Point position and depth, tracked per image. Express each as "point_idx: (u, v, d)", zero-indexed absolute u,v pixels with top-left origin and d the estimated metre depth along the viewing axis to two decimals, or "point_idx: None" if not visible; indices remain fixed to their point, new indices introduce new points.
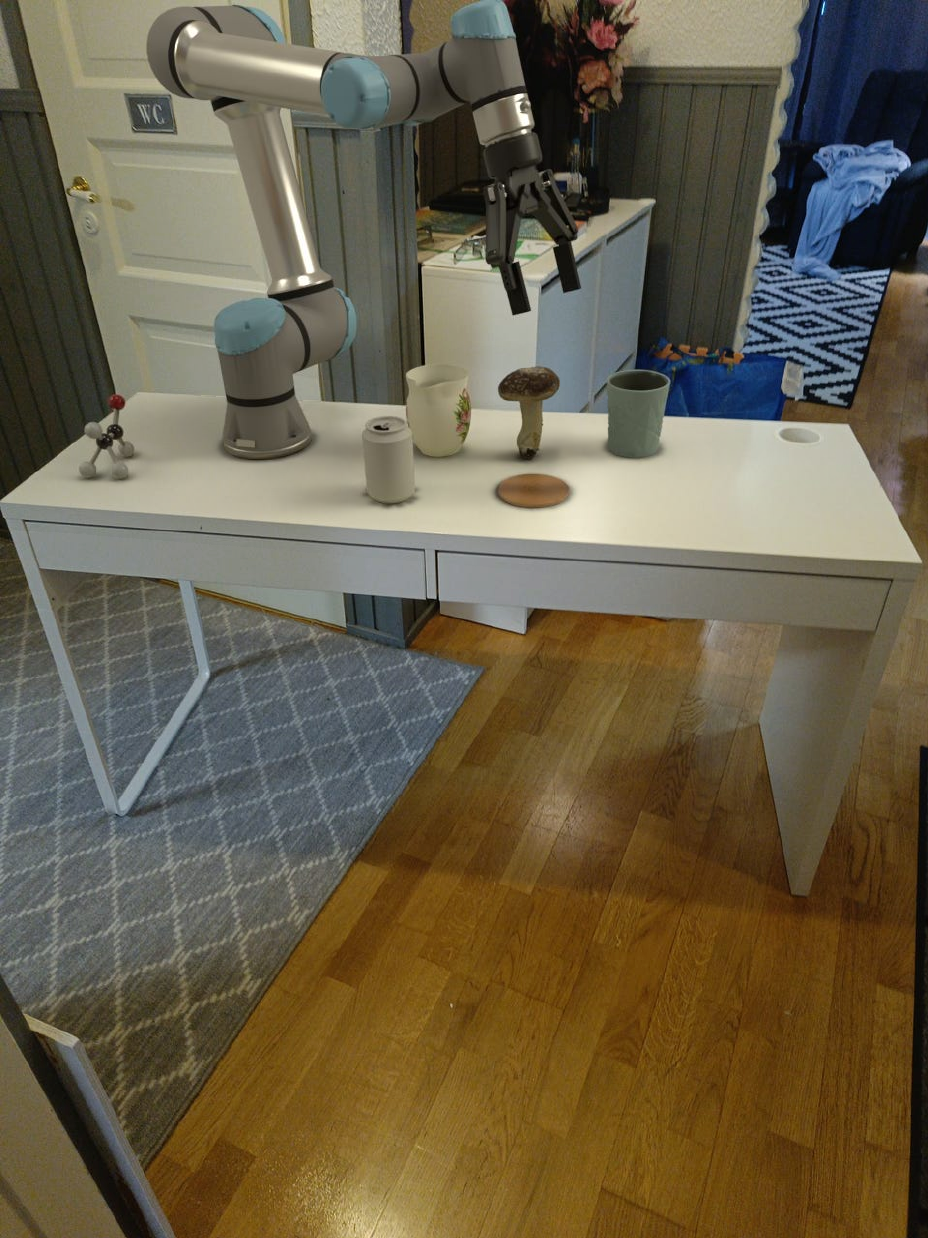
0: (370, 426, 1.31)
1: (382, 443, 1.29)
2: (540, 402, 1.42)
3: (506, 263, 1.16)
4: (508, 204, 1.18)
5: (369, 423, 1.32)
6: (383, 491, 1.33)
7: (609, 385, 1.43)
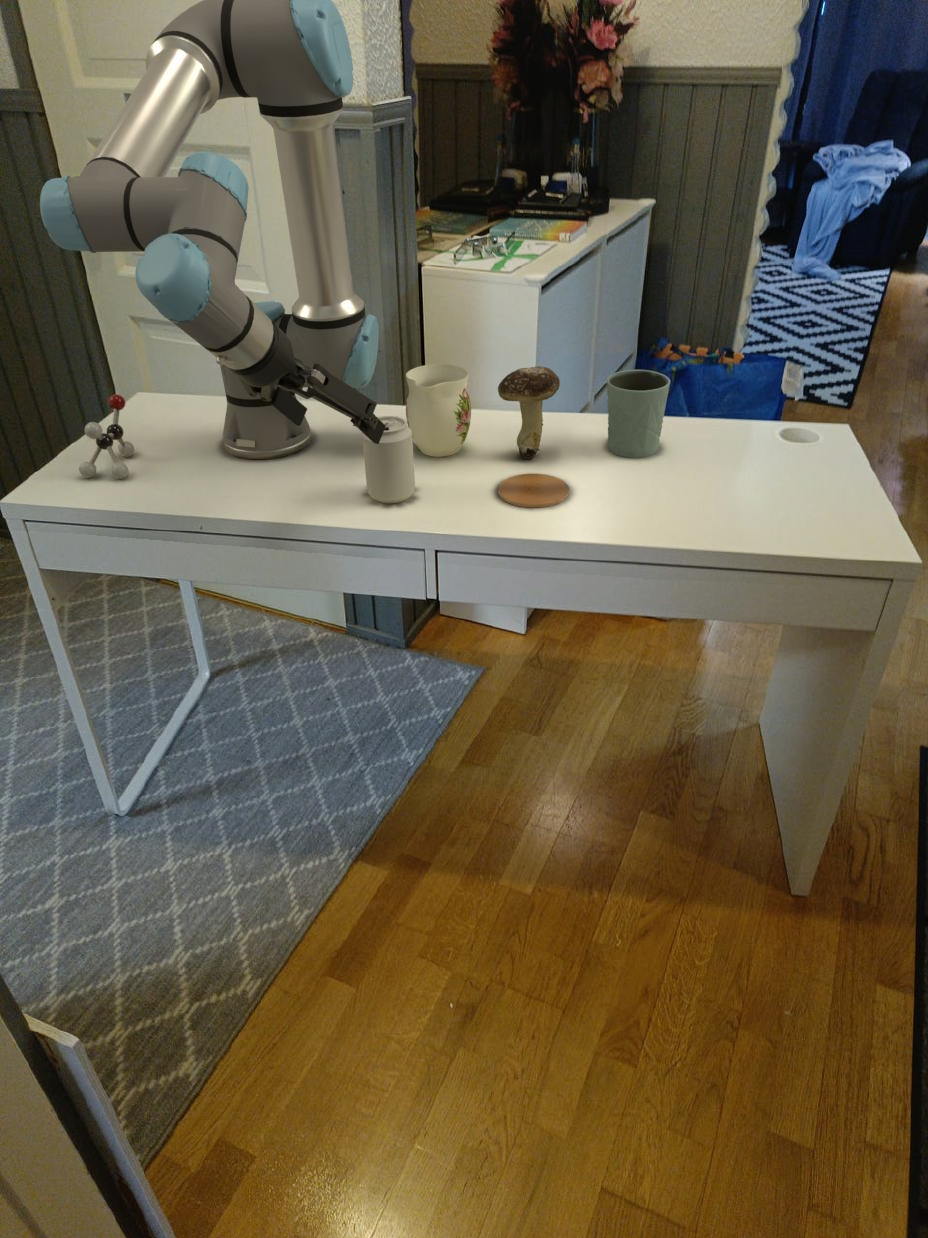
0: None
1: (382, 443, 1.29)
2: (540, 402, 1.42)
3: None
4: None
5: None
6: (383, 491, 1.33)
7: (609, 385, 1.43)
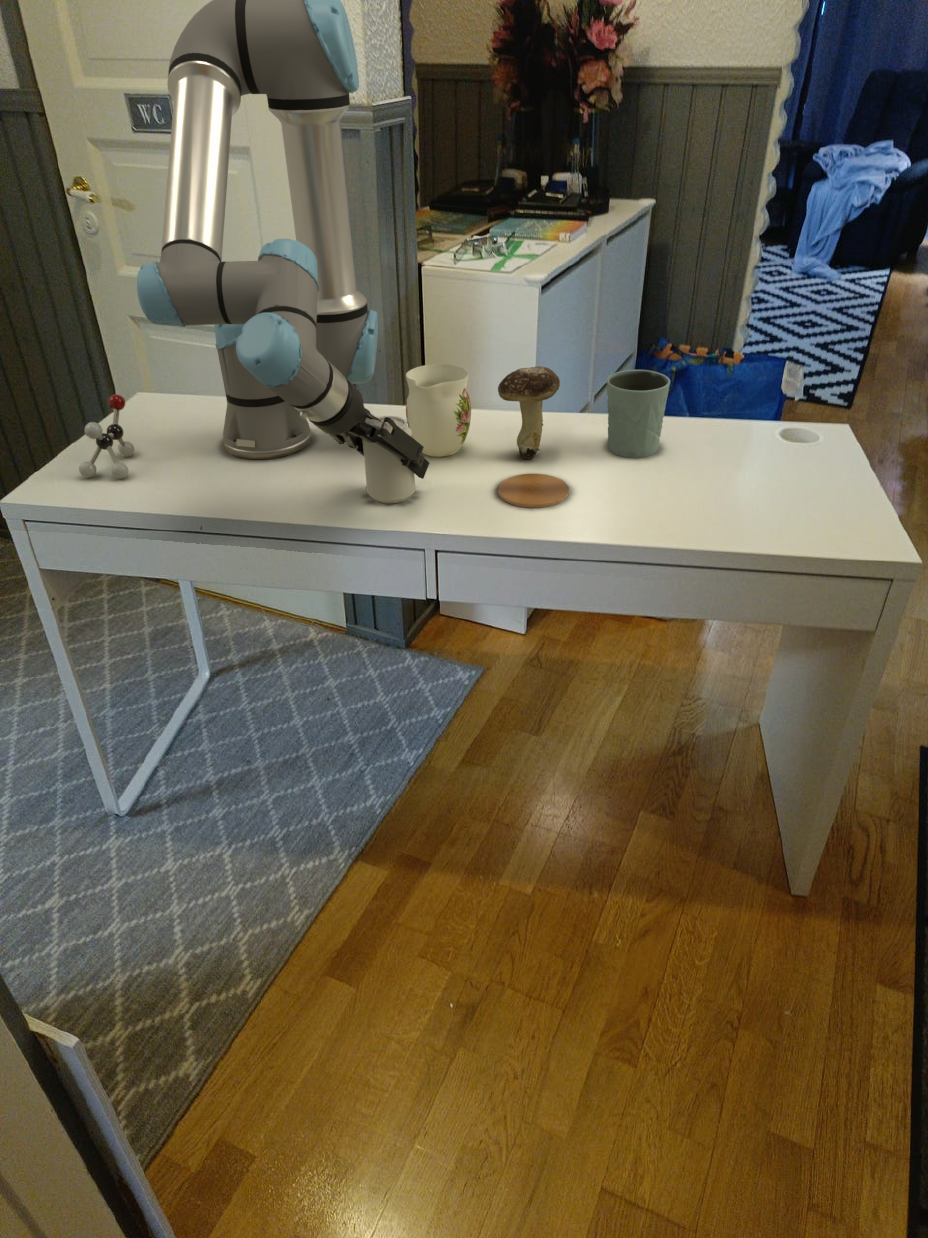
0: None
1: None
2: (540, 402, 1.42)
3: None
4: None
5: None
6: (383, 491, 1.33)
7: (609, 385, 1.43)
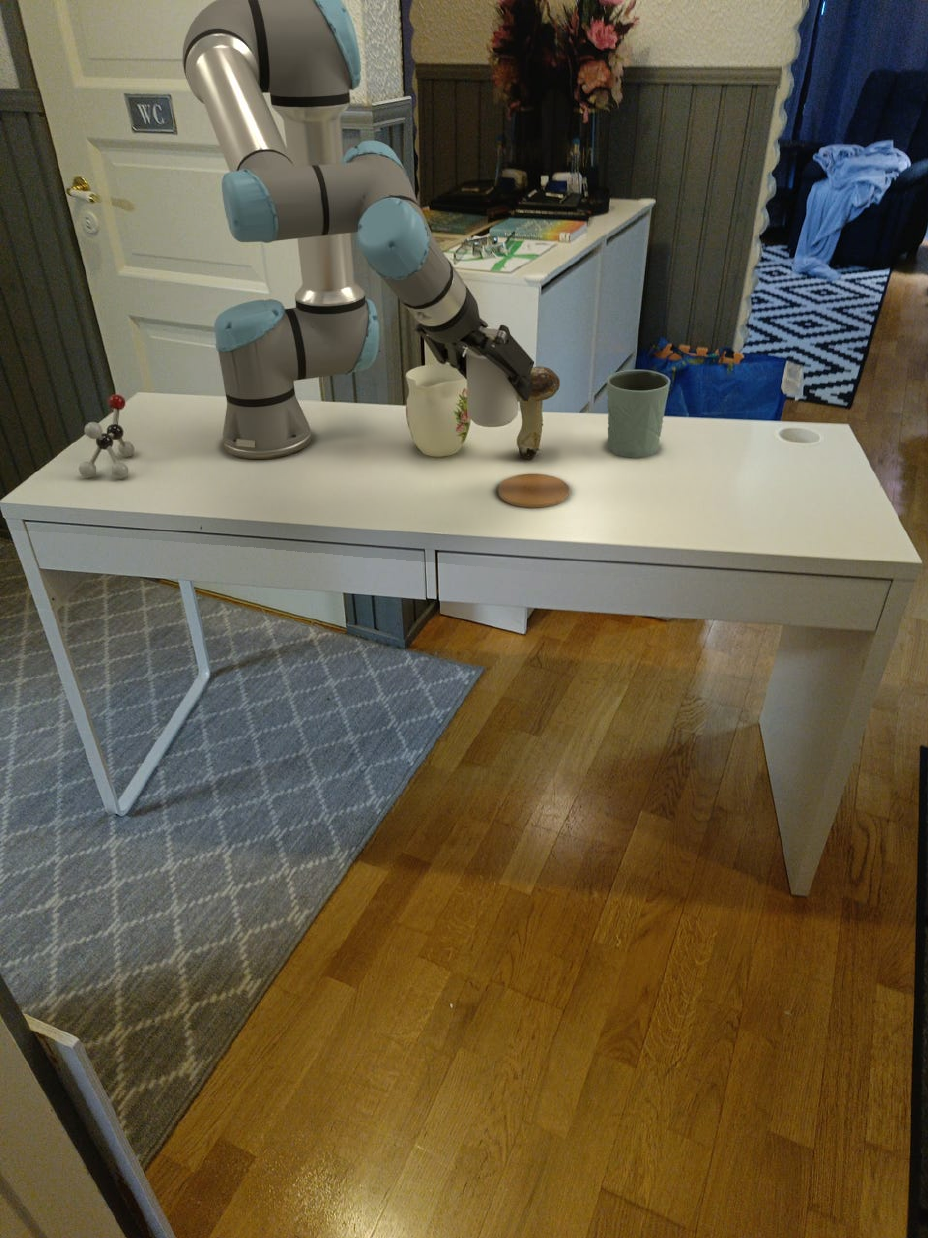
0: None
1: (489, 360, 1.22)
2: (540, 402, 1.42)
3: None
4: None
5: None
6: (486, 413, 1.26)
7: (609, 385, 1.43)
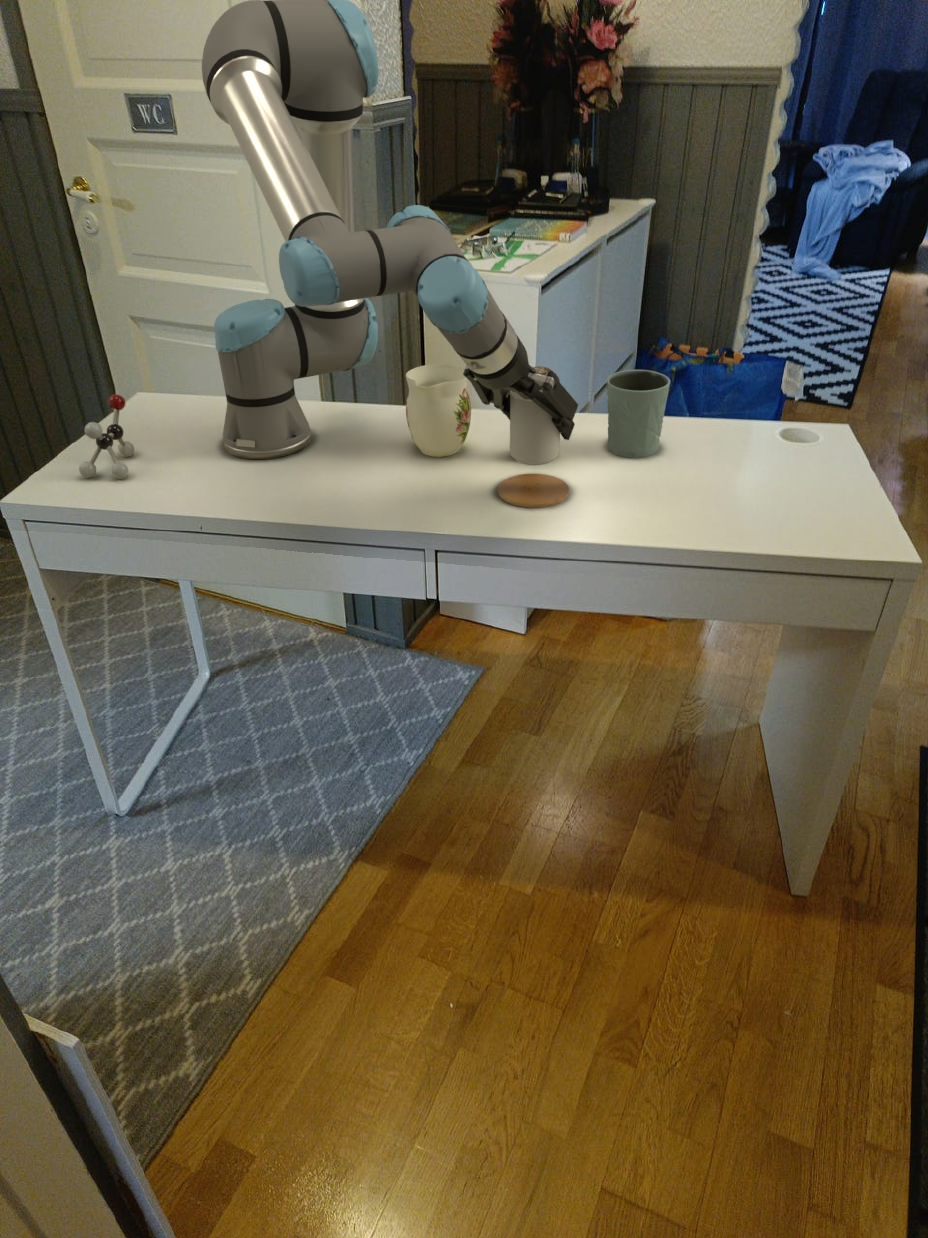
0: None
1: None
2: None
3: None
4: None
5: None
6: (530, 452, 1.30)
7: (609, 385, 1.43)
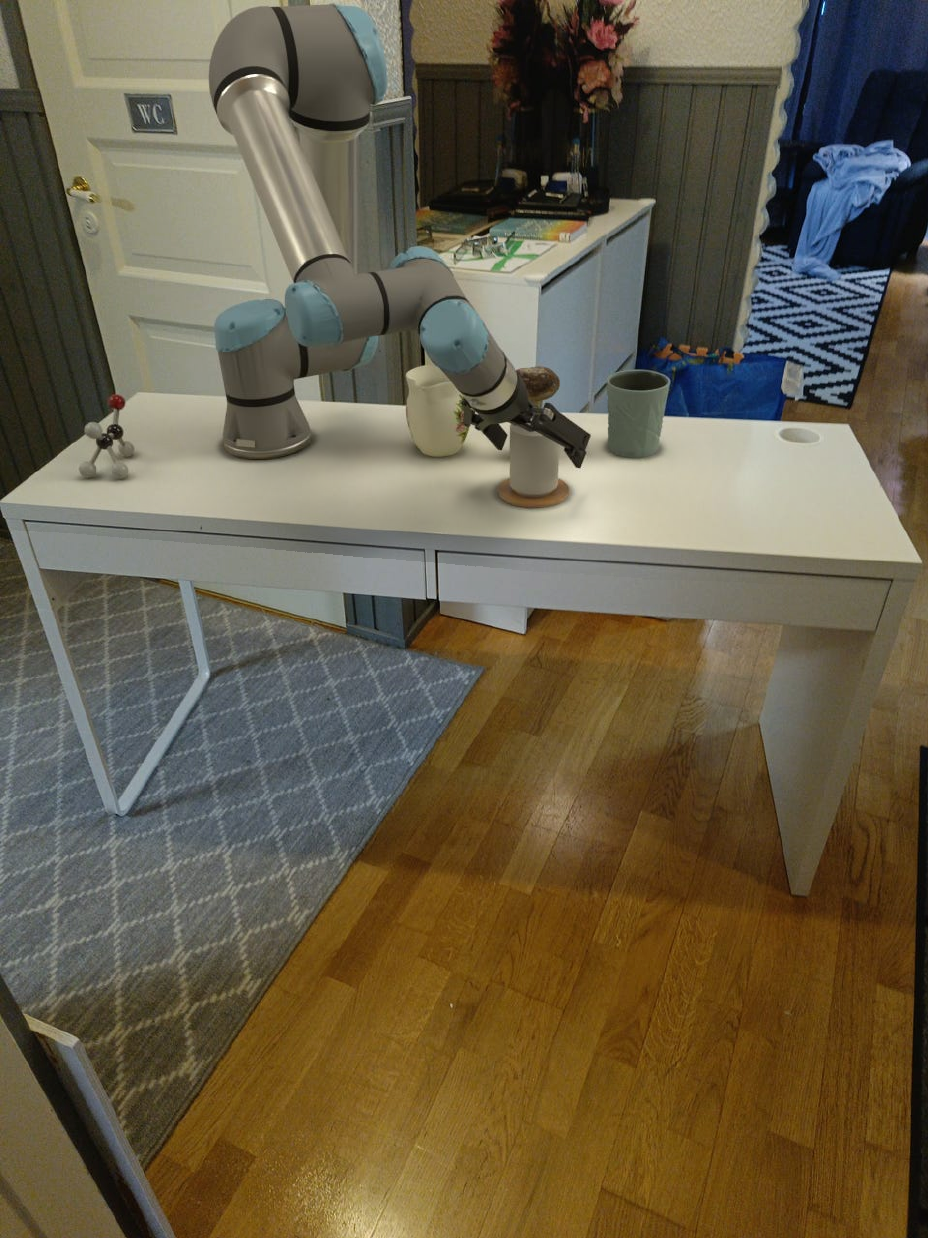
0: None
1: (533, 437, 1.28)
2: (540, 402, 1.42)
3: None
4: None
5: None
6: (529, 485, 1.33)
7: (609, 385, 1.43)
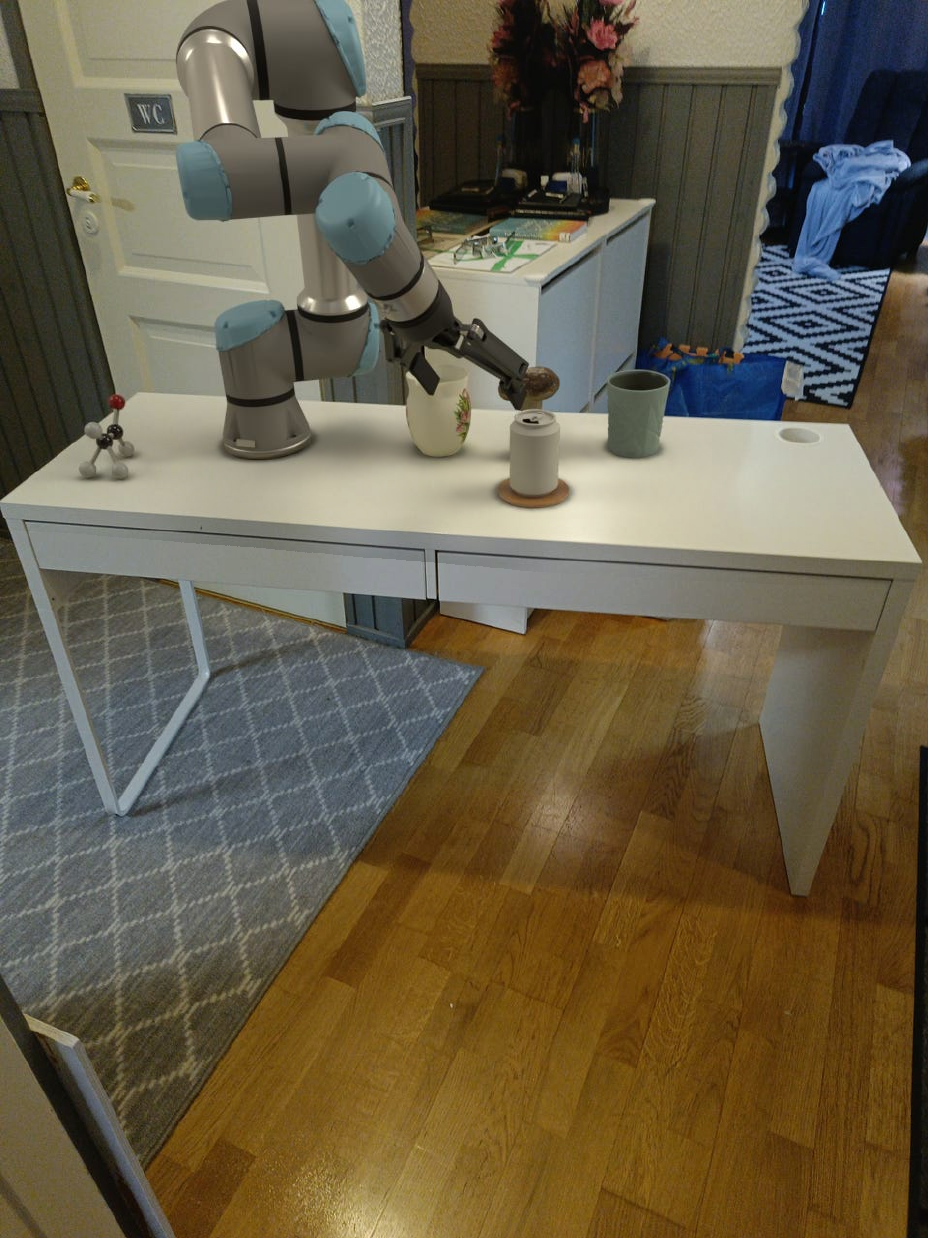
0: (519, 419, 1.31)
1: (533, 437, 1.28)
2: (540, 402, 1.42)
3: None
4: None
5: (517, 416, 1.31)
6: (529, 485, 1.33)
7: (609, 385, 1.43)
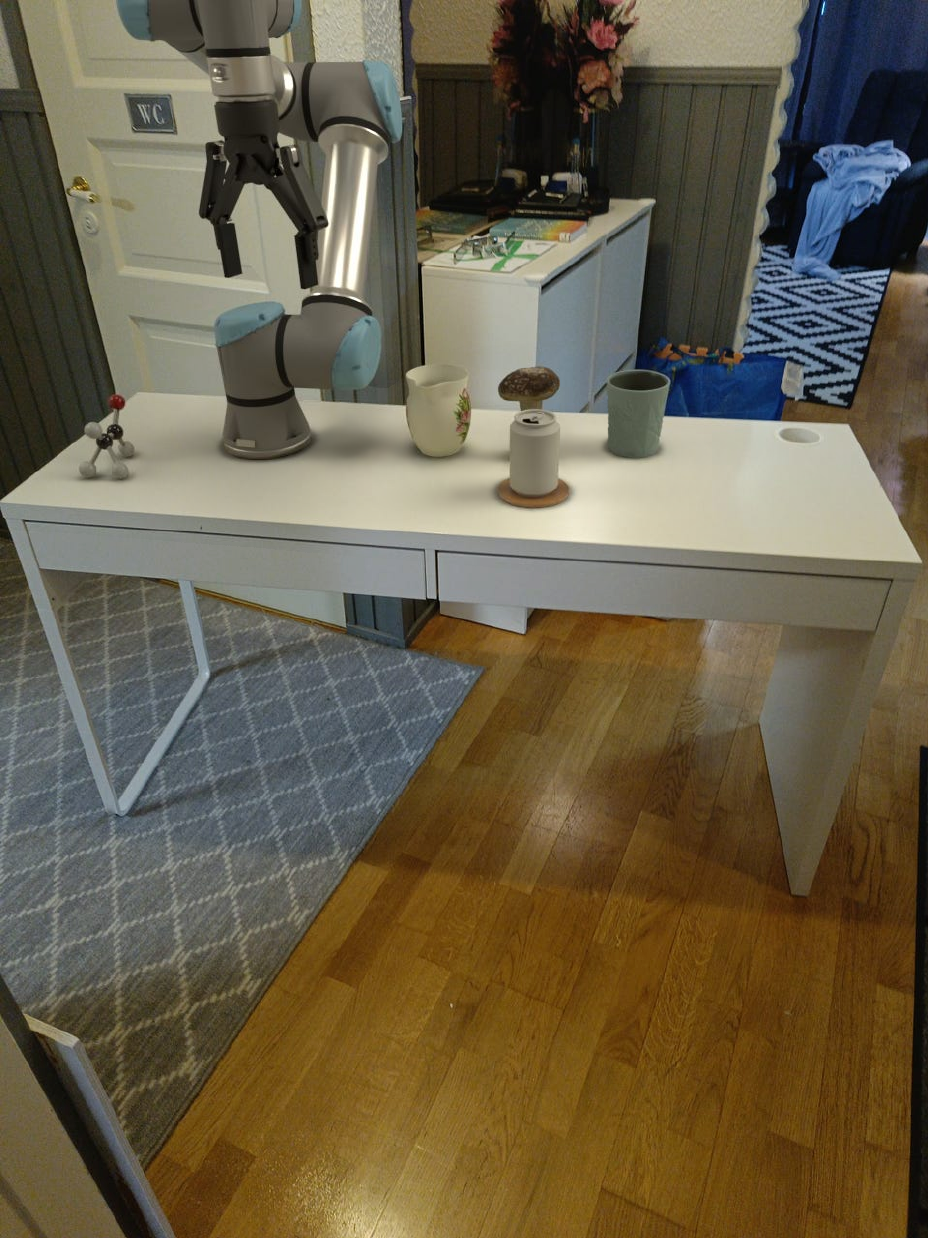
0: (519, 419, 1.31)
1: (533, 437, 1.28)
2: (540, 402, 1.42)
3: None
4: None
5: (517, 416, 1.31)
6: (529, 485, 1.33)
7: (609, 385, 1.43)
